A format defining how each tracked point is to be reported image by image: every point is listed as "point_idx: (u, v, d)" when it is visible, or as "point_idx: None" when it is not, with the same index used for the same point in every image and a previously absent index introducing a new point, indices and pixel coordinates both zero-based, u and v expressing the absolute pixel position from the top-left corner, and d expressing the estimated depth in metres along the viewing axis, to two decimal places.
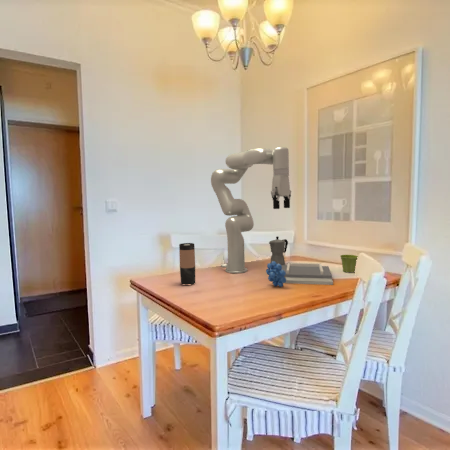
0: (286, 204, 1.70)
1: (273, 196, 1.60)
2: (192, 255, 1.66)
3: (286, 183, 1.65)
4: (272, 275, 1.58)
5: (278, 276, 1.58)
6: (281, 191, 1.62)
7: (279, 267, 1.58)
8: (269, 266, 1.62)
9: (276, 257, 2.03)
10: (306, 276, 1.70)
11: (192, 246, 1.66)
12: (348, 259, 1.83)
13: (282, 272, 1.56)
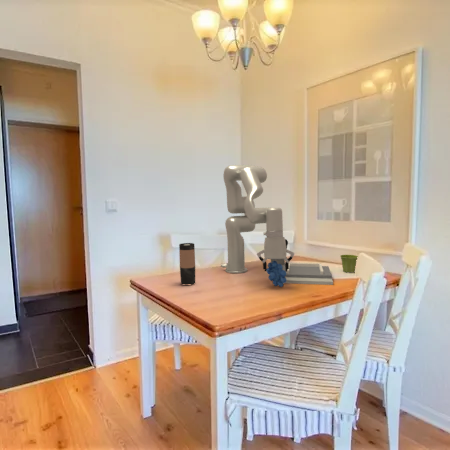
0: (266, 267, 1.60)
1: None
2: (192, 255, 1.66)
3: None
4: (272, 275, 1.57)
5: (278, 276, 1.58)
6: None
7: (280, 267, 1.57)
8: (270, 266, 1.61)
9: None
10: (306, 276, 1.70)
11: (192, 246, 1.66)
12: (348, 259, 1.83)
13: (283, 272, 1.56)
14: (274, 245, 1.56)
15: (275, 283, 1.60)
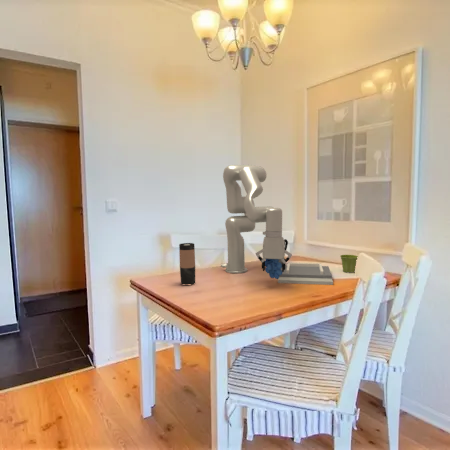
0: (264, 266, 1.61)
1: (289, 258, 1.59)
2: (192, 255, 1.66)
3: None
4: (269, 267, 1.60)
5: (275, 268, 1.60)
6: None
7: (276, 259, 1.59)
8: None
9: None
10: (306, 276, 1.70)
11: (192, 246, 1.66)
12: (348, 259, 1.83)
13: (279, 264, 1.58)
14: (272, 245, 1.57)
15: (271, 275, 1.62)
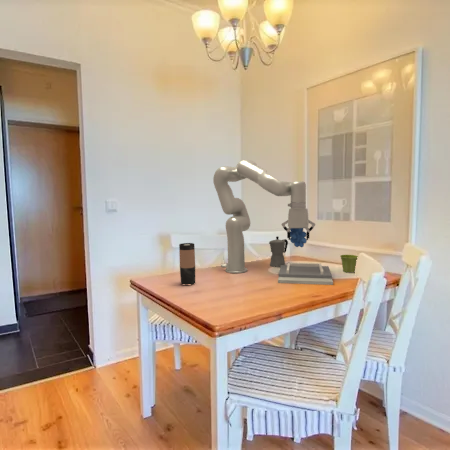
0: None
1: (312, 228, 1.72)
2: (192, 255, 1.66)
3: None
4: (294, 236, 1.73)
5: (299, 237, 1.74)
6: None
7: (300, 229, 1.73)
8: (291, 228, 1.78)
9: (276, 257, 2.03)
10: (306, 276, 1.70)
11: (192, 246, 1.66)
12: (348, 259, 1.83)
13: (303, 233, 1.72)
14: (297, 216, 1.71)
15: (296, 244, 1.76)
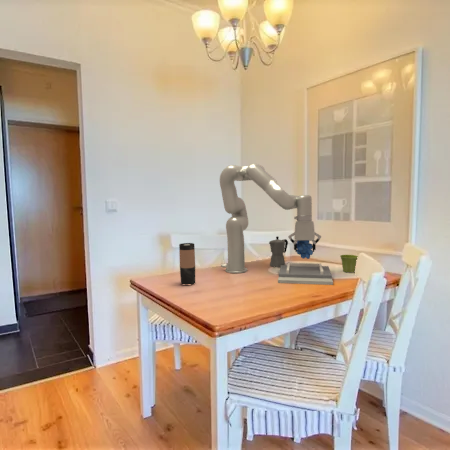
0: (296, 248, 1.80)
1: (318, 240, 1.78)
2: (192, 255, 1.66)
3: None
4: (300, 248, 1.79)
5: (306, 249, 1.79)
6: None
7: (307, 241, 1.78)
8: None
9: (276, 257, 2.03)
10: (306, 276, 1.70)
11: (192, 246, 1.66)
12: (348, 259, 1.83)
13: (310, 245, 1.77)
14: (304, 228, 1.76)
15: (303, 256, 1.81)
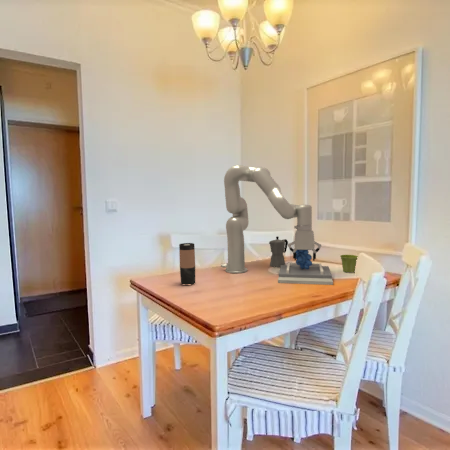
0: (295, 256, 1.81)
1: None
2: (192, 255, 1.66)
3: None
4: (300, 258, 1.79)
5: (305, 260, 1.79)
6: None
7: (306, 252, 1.79)
8: (297, 251, 1.83)
9: (276, 257, 2.03)
10: (306, 276, 1.70)
11: (192, 246, 1.66)
12: (348, 259, 1.83)
13: (309, 256, 1.78)
14: (304, 238, 1.76)
15: (302, 266, 1.81)
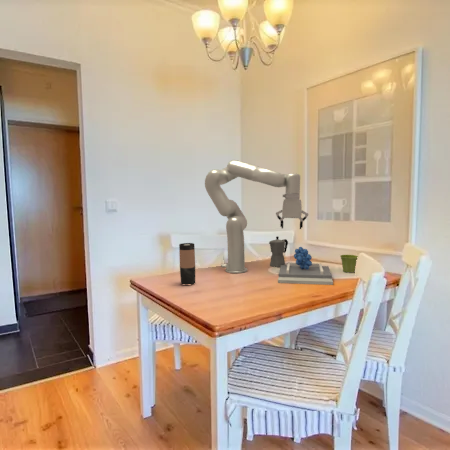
0: None
1: None
2: (192, 255, 1.66)
3: None
4: (299, 259, 1.79)
5: (305, 260, 1.79)
6: None
7: (306, 252, 1.79)
8: (297, 251, 1.83)
9: (276, 257, 2.03)
10: (306, 276, 1.70)
11: (192, 246, 1.66)
12: (348, 259, 1.83)
13: (308, 256, 1.78)
14: (291, 206, 1.80)
15: (302, 266, 1.81)
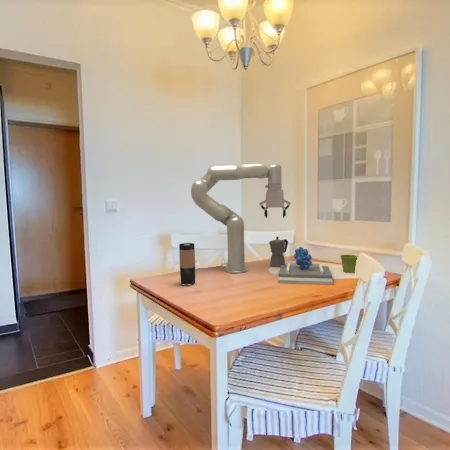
0: None
1: (288, 206, 1.89)
2: (192, 255, 1.66)
3: None
4: (299, 259, 1.79)
5: (305, 260, 1.79)
6: None
7: (306, 252, 1.79)
8: (297, 251, 1.83)
9: (276, 257, 2.03)
10: (306, 276, 1.70)
11: (192, 246, 1.66)
12: (348, 259, 1.83)
13: (308, 256, 1.78)
14: (274, 196, 1.88)
15: (302, 266, 1.81)
